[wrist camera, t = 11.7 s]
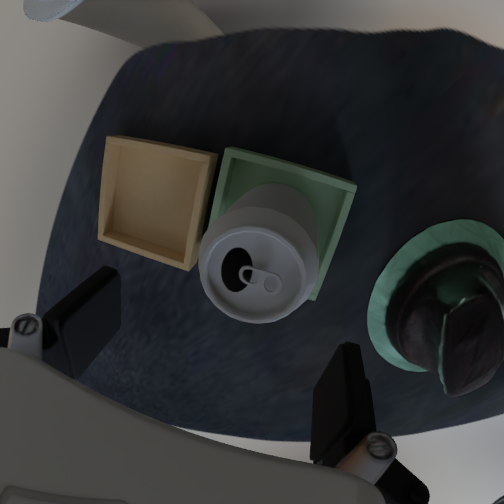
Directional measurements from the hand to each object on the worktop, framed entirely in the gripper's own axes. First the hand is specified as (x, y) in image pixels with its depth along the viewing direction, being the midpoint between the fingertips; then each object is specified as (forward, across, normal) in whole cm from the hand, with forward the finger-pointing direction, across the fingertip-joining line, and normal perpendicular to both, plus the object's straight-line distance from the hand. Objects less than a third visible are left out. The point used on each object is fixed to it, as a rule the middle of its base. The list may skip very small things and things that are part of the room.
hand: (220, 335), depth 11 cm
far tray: (+18, +12, +2) cm, 22 cm away
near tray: (+18, -1, 0) cm, 18 cm away
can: (+18, -1, 0) cm, 18 cm away
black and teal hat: (+18, -22, +4) cm, 29 cm away
